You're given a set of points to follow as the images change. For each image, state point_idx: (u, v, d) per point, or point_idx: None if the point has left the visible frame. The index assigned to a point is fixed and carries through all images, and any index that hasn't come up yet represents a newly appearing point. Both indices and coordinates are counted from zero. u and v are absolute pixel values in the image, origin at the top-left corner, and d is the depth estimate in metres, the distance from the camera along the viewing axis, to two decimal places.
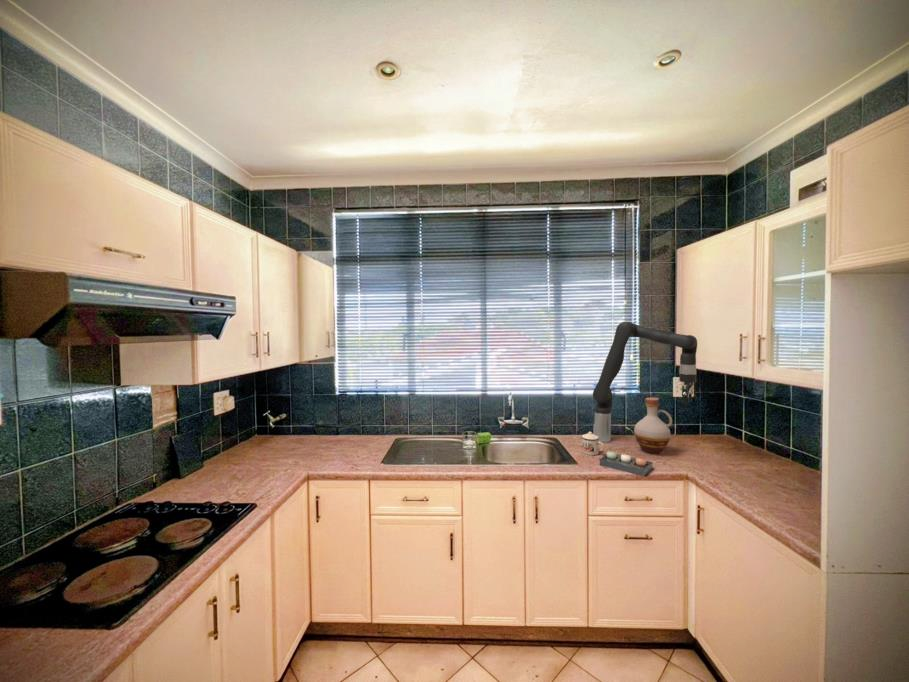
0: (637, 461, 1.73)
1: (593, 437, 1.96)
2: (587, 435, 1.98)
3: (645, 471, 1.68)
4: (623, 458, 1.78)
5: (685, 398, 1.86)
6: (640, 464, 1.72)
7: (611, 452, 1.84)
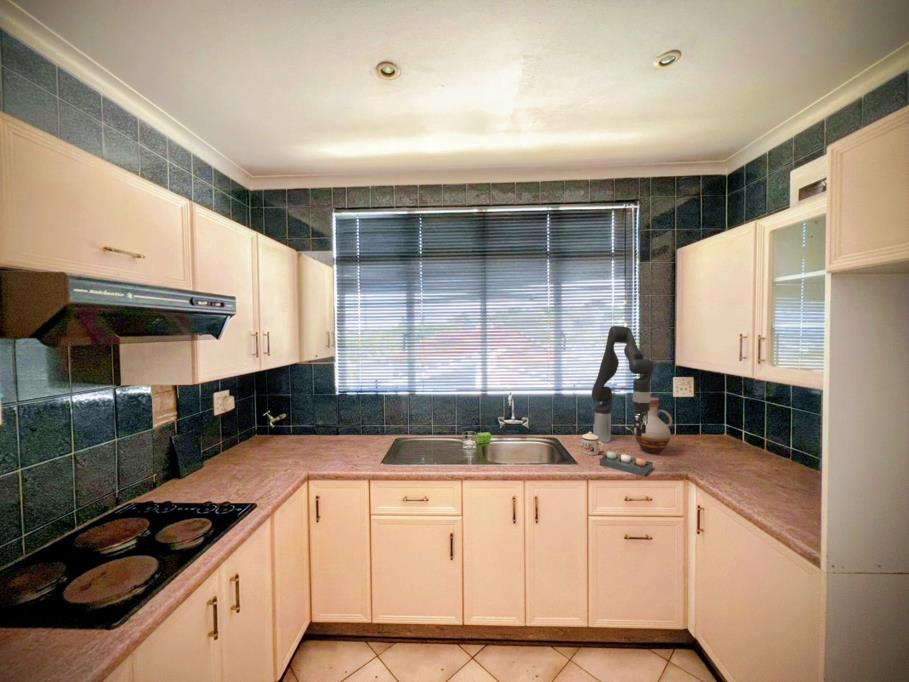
0: (637, 461, 1.73)
1: (593, 437, 1.96)
2: (587, 435, 1.98)
3: (645, 471, 1.68)
4: (623, 458, 1.78)
5: (638, 429, 1.70)
6: (640, 464, 1.72)
7: (611, 452, 1.84)
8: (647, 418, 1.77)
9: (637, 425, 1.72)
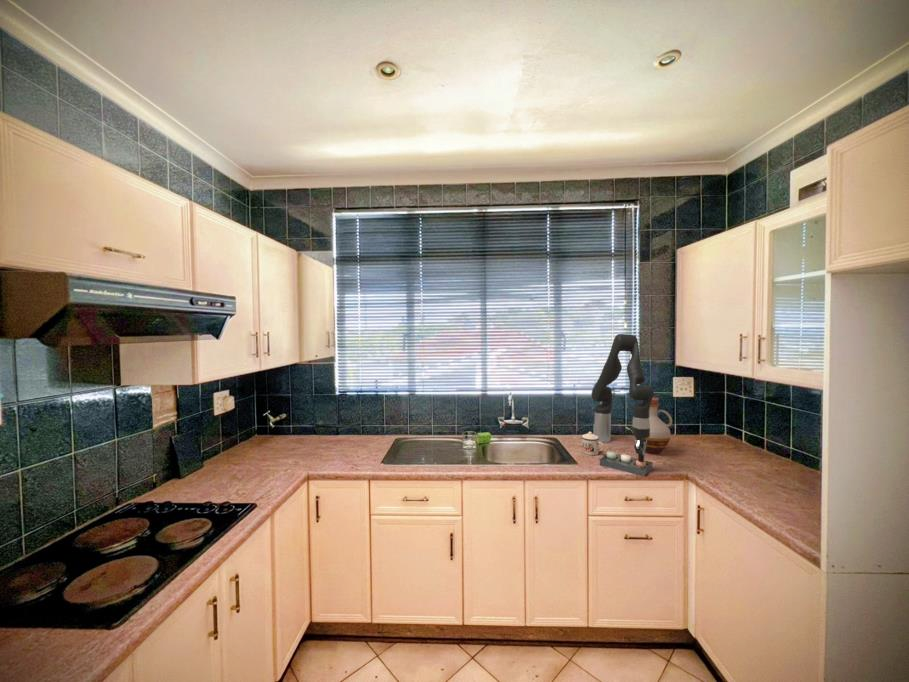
0: (637, 463, 1.73)
1: (593, 437, 1.96)
2: (587, 435, 1.98)
3: (645, 471, 1.68)
4: (623, 458, 1.78)
5: (640, 455, 1.73)
6: None
7: (611, 452, 1.84)
8: (646, 446, 1.76)
9: None
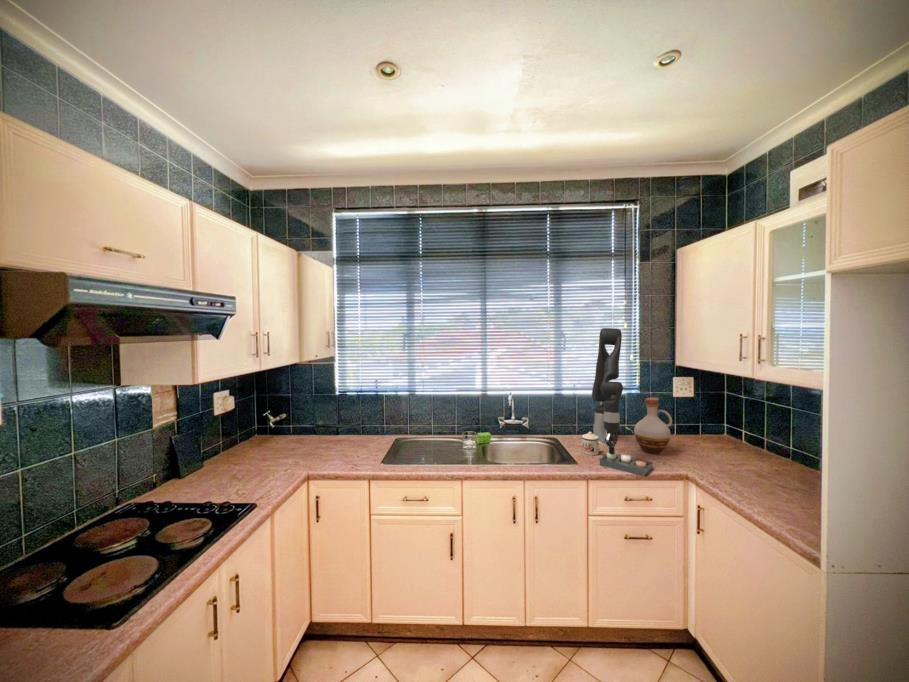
0: (637, 464, 1.74)
1: (593, 437, 1.96)
2: (587, 435, 1.98)
3: (645, 471, 1.68)
4: (623, 458, 1.78)
5: (610, 447, 1.82)
6: None
7: None
8: (616, 439, 1.85)
9: None
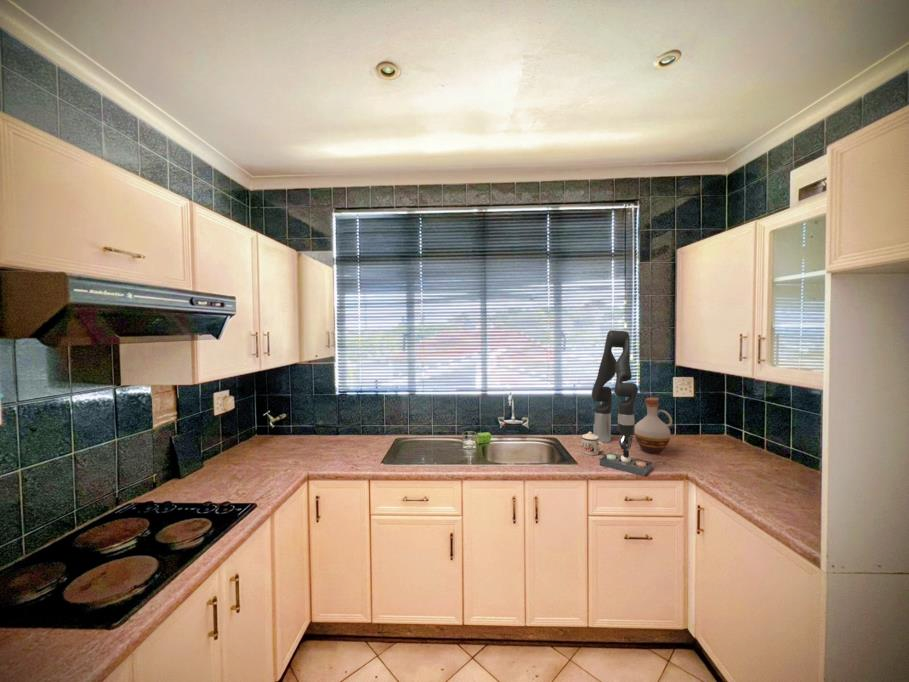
0: (637, 464, 1.74)
1: (593, 437, 1.96)
2: (587, 435, 1.98)
3: (645, 471, 1.68)
4: (623, 459, 1.78)
5: (625, 450, 1.78)
6: None
7: (611, 455, 1.84)
8: (631, 442, 1.81)
9: None
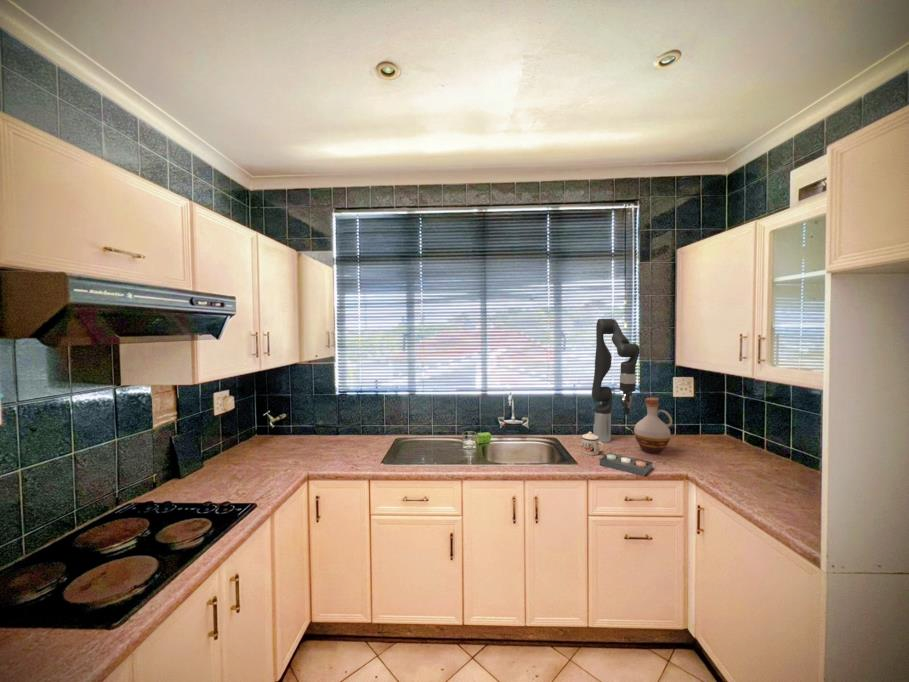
0: (637, 464, 1.74)
1: (593, 437, 1.96)
2: (587, 435, 1.98)
3: (645, 471, 1.68)
4: (623, 461, 1.78)
5: (626, 408, 1.86)
6: None
7: (611, 455, 1.84)
8: (632, 401, 1.89)
9: (625, 404, 1.87)
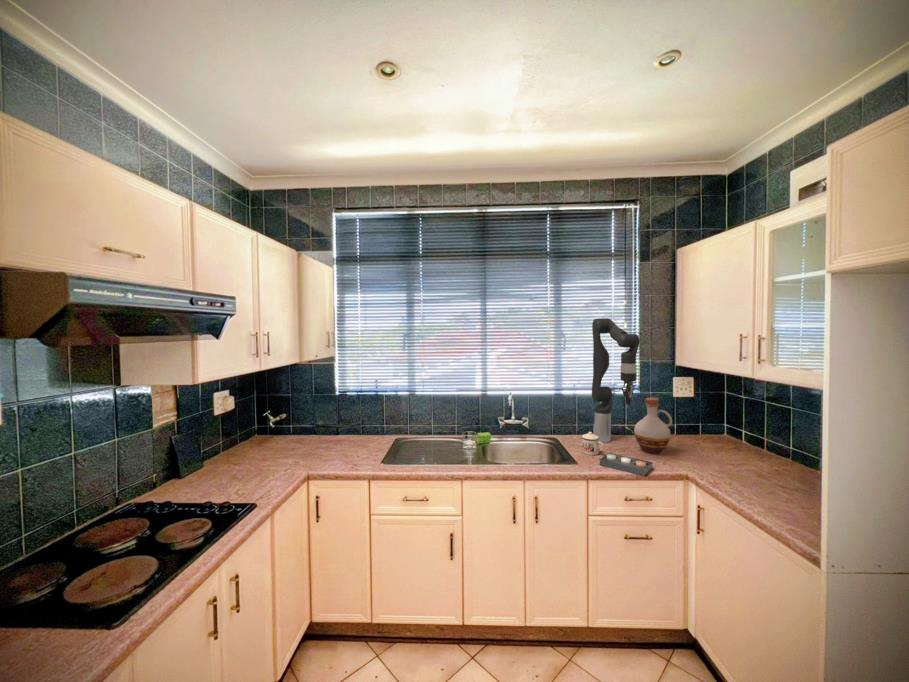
0: (637, 464, 1.74)
1: (593, 437, 1.96)
2: (587, 435, 1.98)
3: (645, 471, 1.68)
4: (623, 461, 1.78)
5: (627, 398, 1.88)
6: None
7: (611, 455, 1.84)
8: None
9: None
